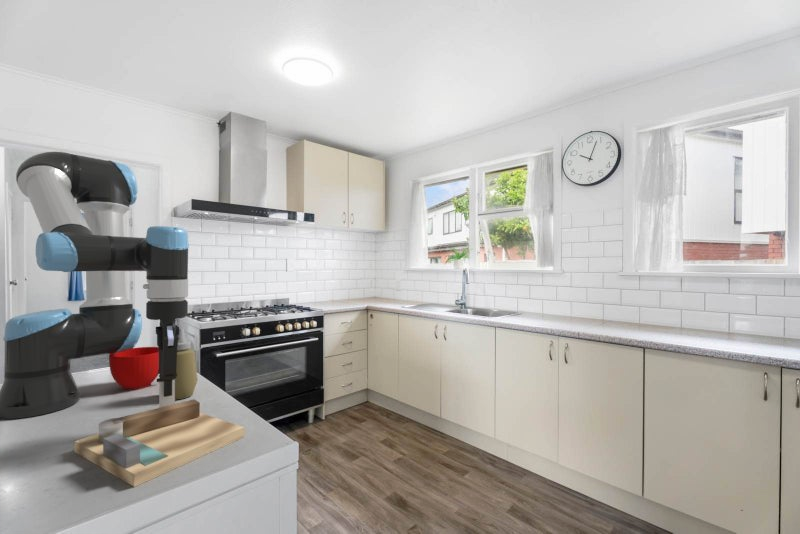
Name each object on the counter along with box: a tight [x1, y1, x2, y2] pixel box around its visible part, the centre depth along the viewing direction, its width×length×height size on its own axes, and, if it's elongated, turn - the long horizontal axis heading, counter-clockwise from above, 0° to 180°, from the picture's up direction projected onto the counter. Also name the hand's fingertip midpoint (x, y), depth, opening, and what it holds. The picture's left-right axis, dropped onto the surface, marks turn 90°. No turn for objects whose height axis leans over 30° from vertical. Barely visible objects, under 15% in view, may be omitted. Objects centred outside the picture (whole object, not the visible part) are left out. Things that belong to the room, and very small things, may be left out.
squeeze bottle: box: [175, 328, 198, 400], centre depth 100 cm, size 8×8×18 cm
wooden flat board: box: [73, 412, 245, 488], centre depth 73 cm, size 22×20×5 cm
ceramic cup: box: [108, 346, 160, 390], centre depth 109 cm, size 13×17×10 cm
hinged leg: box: [98, 398, 201, 443], centre depth 76 cm, size 17×4×3 cm, turn 139°
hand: (167, 409), depth 80 cm, fingers closed
